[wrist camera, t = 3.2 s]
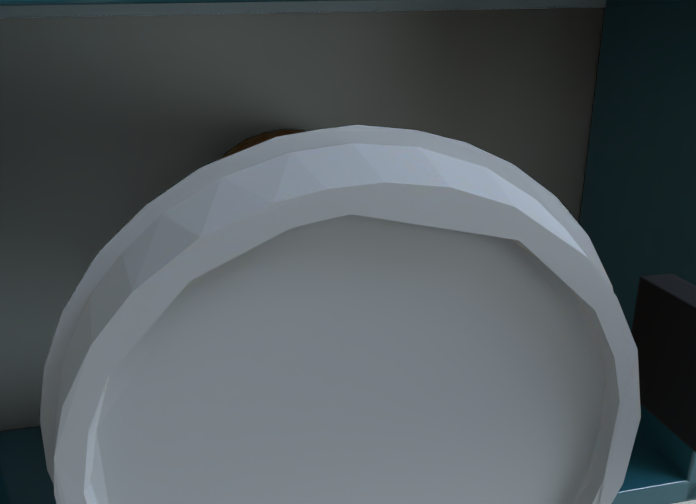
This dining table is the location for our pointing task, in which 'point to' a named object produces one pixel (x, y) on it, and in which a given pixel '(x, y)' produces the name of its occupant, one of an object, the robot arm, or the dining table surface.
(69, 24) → the dining table surface
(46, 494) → the teal open box
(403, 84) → the dining table surface
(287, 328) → the disposable coffee cup
